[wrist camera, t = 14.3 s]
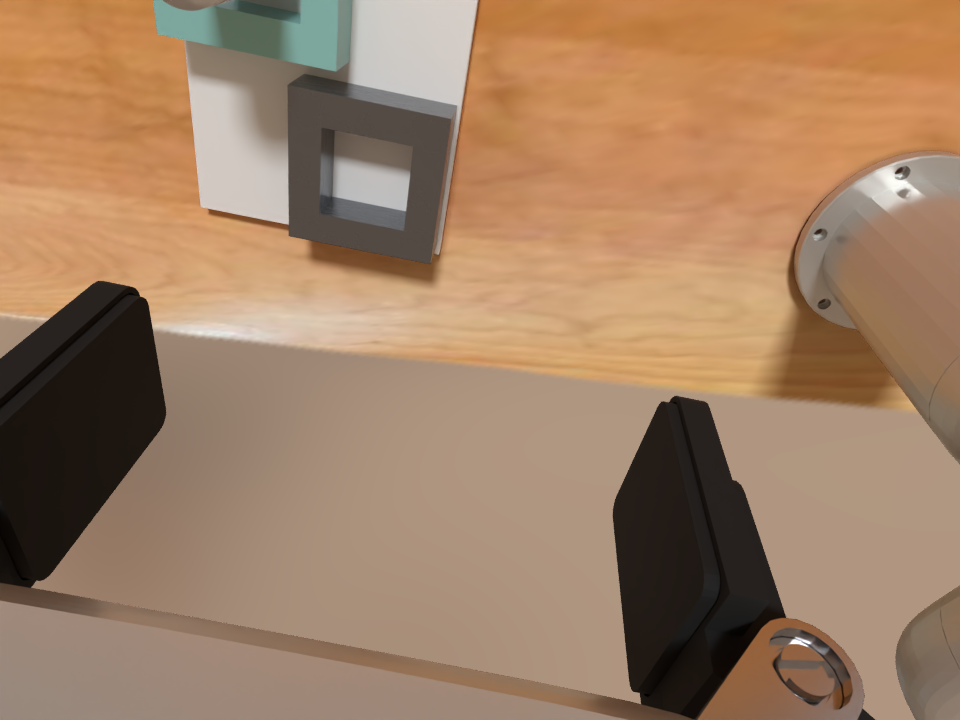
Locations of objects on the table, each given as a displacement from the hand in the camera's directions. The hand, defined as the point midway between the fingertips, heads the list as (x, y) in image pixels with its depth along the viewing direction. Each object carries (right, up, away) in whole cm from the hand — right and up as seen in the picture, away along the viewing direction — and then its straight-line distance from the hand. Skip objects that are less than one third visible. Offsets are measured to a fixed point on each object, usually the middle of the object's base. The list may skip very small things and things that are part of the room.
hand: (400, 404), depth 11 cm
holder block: (-5, +14, +29) cm, 33 cm away
